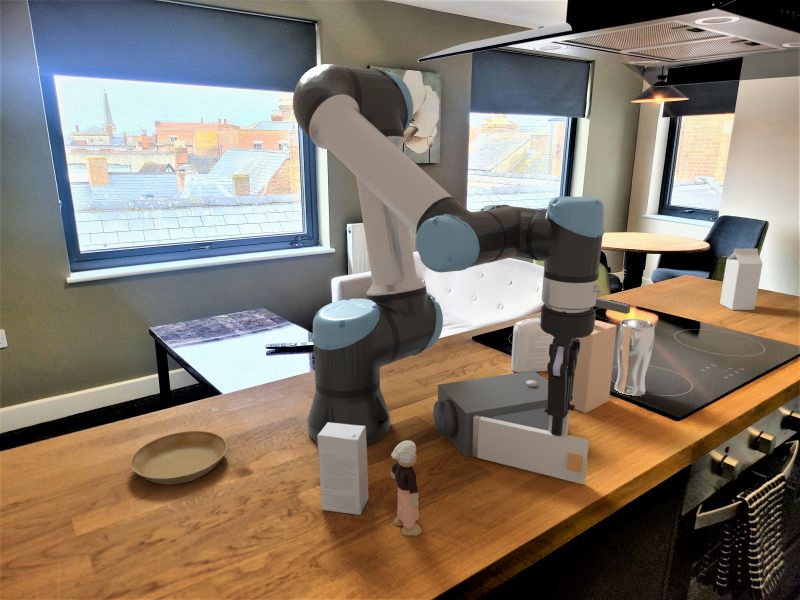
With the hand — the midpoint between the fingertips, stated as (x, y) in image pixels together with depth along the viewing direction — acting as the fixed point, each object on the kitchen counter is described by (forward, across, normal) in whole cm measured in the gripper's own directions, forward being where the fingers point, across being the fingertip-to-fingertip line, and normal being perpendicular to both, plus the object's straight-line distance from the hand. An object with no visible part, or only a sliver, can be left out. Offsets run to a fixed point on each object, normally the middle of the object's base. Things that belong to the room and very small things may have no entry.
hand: (556, 449), depth 87 cm
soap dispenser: (+5, +28, -1) cm, 29 cm away
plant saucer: (+5, -24, +56) cm, 61 cm away
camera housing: (+4, +9, +12) cm, 16 cm away
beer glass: (+5, +38, -8) cm, 39 cm away
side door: (+4, -2, +4) cm, 6 cm away
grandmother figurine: (+4, -21, +16) cm, 27 cm away
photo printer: (+5, +41, +13) cm, 43 cm away
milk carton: (+6, +120, -34) cm, 125 cm away
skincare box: (+4, -21, +26) cm, 34 cm away
